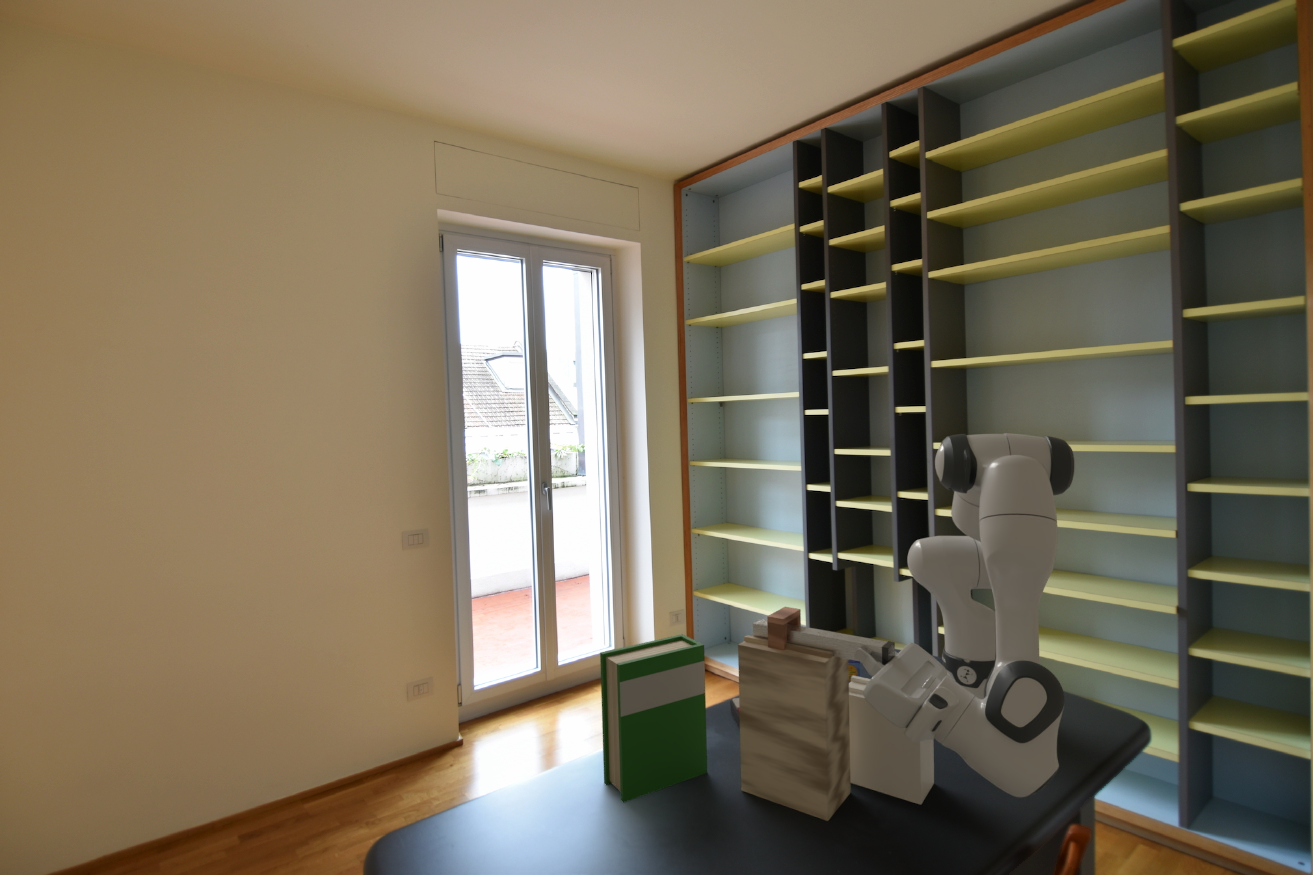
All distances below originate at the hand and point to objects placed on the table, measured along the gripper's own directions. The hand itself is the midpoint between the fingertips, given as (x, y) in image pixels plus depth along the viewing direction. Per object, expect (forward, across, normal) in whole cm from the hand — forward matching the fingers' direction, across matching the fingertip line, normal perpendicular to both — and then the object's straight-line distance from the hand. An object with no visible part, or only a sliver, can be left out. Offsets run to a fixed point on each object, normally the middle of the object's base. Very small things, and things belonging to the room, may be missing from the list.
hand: (862, 646), depth 111 cm
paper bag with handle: (-3, 0, +30) cm, 31 cm away
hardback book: (+16, +10, +42) cm, 46 cm away
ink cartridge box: (+4, -39, +35) cm, 52 cm away
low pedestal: (-14, -12, +24) cm, 30 cm away
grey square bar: (+5, 0, +5) cm, 7 cm away
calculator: (+11, -23, +39) cm, 47 cm away
